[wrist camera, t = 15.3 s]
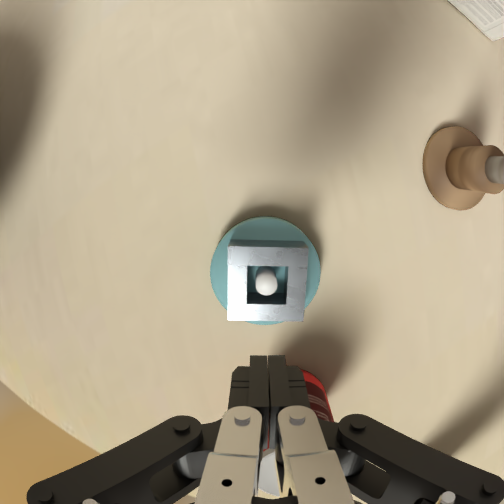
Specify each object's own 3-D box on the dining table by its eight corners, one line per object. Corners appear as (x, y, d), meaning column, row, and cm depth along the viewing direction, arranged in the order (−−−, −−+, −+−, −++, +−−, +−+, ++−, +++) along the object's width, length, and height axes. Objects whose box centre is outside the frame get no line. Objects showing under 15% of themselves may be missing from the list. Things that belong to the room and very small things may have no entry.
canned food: (268, 428, 33) (271, 505, 22) (239, 380, 31) (233, 460, 20) (332, 407, 32) (354, 482, 21) (311, 355, 30) (332, 433, 20)
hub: (336, 268, 28) (350, 285, 24) (263, 332, 30) (264, 358, 25) (266, 194, 27) (268, 197, 22) (192, 267, 28) (181, 283, 24)
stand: (494, 174, 25) (561, 182, 16) (452, 225, 27) (518, 249, 17) (454, 111, 24) (521, 97, 14) (407, 161, 26) (472, 159, 16)
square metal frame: (303, 241, 25) (308, 248, 23) (299, 308, 27) (303, 321, 24) (230, 239, 25) (227, 246, 23) (230, 307, 27) (228, 320, 24)
